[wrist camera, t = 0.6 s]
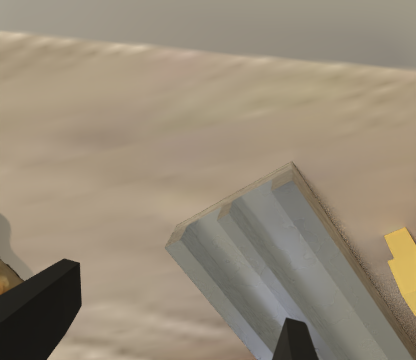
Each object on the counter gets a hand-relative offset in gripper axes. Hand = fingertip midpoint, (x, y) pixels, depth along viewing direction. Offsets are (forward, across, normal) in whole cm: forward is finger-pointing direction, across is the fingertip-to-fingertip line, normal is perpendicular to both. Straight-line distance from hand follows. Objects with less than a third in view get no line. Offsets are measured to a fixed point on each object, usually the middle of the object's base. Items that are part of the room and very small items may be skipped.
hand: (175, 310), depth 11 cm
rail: (+10, -6, +6) cm, 13 cm away
